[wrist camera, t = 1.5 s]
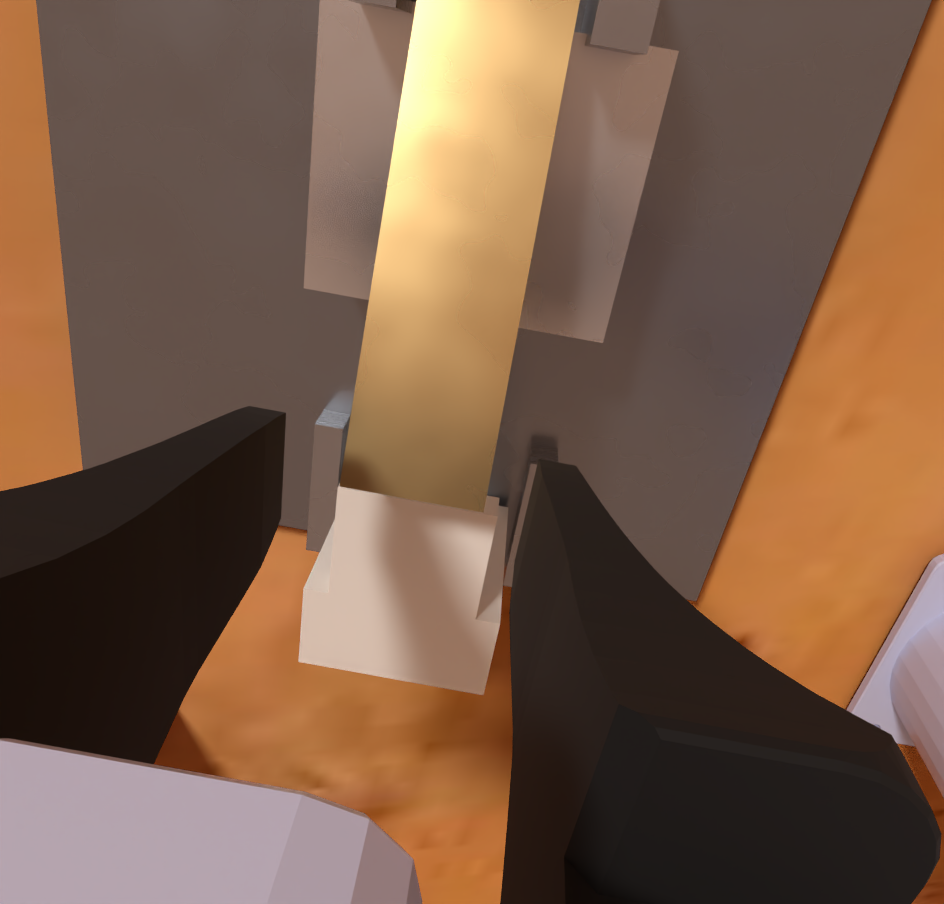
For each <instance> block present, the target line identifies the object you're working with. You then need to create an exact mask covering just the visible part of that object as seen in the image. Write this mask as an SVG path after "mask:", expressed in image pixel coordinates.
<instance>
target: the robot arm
mask: <svg viewBox="0 0 944 904" xmlns="http://www.w3.org/2000/svg"><path fill="white" fill-rule="evenodd" d="M285 427H286V413H285V412H280V411H274V410H269V409H263V408H258V407H253V406H247V407H244V408H240V409H238V410H235V411H232V412H230V413H227V414H225V415H223V416H220V417H218V418H216V419H213V420H211V421H209V422H206V423H204V424H202V425H199V426H197V427H195V428H192V429H190V430H188V431H185V432H183V433H181V434H178V435H176V436H174V437H171V438H169V439H167V440H164V441H162V442H160V443H157V444H154V445H152V446H149V447H146V448H144V449H141V450H138V451H136V452H133V453H130V454H128V455H125V456H122V457H120V458H117V459H114V460H112V461H109V462H106V463H104V464H101V465H98V466H95V467H92V468H89V469H85V470H82V471H79V472H76V473H72V474H69V475H65V476H62V477H58V478H54V479H51V480H47V481H43V482H40V483H36V484H32V485H28V486H24V487H19V488H14V489H9V490H5V491H0V904H422V898H421V893H420V889H419V884H418V879H417V875H416V870H415V865H414V860H413V859H412V857H411V856H410V855H409V854H408V853H407V852H406V851H405V850H404V849H403V848H402V847H401V846H400V845H398V844H397V843H396V842H395V841H394V840H393V839H392V838H391V837H390V836H389V835H388V834H386V833H385V832H384V831H383V830H382V829H381V828H380V827H379V826H378V825H377V824H376V823H374V822H373V821H372V820H371V819H370V818H369V817H368V816H367V815H366V814H365V813H362V812H359V811H357V810H354V809H351V808H348V807H346V806H343V805H340V804H337V803H335V802H332V801H329V800H326V799H324V798H321V797H318V796H315V795H313V794H310V793H307V792H303V791H298V790H292V789H287V788H281V787H276V786H270V785H265V784H259V783H254V782H248V781H243V780H237V779H232V778H226V777H220V776H215V775H209V774H204V773H198V772H193V771H187V770H182V769H176V768H171V767H165V766H160V765H154V762H155V760H156V758H157V755H158V753H159V751H160V749H161V747H162V744H163V742H164V740H165V738H166V736H167V734H168V731H169V729H170V727H171V725H172V723H173V721H174V718H175V716H176V714H177V712H178V710H179V708H180V705H181V703H182V701H183V699H184V697H185V695H186V693H187V691H188V689H189V688H190V686H191V684H192V682H193V680H194V678H195V676H196V675H197V673H198V671H199V669H200V668H201V666H202V664H203V663H204V661H205V659H206V658H207V656H208V654H209V653H210V651H211V650H212V648H213V646H214V645H215V643H216V641H217V640H218V638H219V636H220V635H221V633H222V631H223V630H224V628H225V626H226V625H227V623H228V621H229V620H230V618H231V616H232V615H233V613H234V612H235V610H236V608H237V607H238V605H239V603H240V602H241V600H242V598H243V597H244V595H245V593H246V591H247V590H248V588H249V586H250V585H251V583H252V581H253V580H254V578H255V576H256V574H257V573H258V571H259V569H260V568H261V566H262V563H263V561H264V559H265V556H266V554H267V552H268V549H269V547H270V545H271V542H272V540H273V537H274V535H275V532H276V530H277V527H278V525H279V522H280V520H281V509H282V489H283V468H284V448H285ZM509 614H510V654H511V686H512V718H513V750H512V768H511V782H510V795H509V808H508V821H507V833H506V845H505V857H504V869H503V881H502V892H501V902H500V904H911V903H912V902H913V901H914V899H915V898H916V897H917V895H918V894H919V893H920V891H921V890H922V889H923V887H924V886H925V884H926V883H927V881H928V879H929V878H930V876H931V874H932V872H933V870H934V868H935V866H936V864H937V862H938V860H939V858H940V844H941V832H940V829H939V827H938V824H937V822H936V819H935V816H934V814H933V811H932V809H931V807H930V805H929V803H928V801H927V799H926V797H925V796H924V794H923V792H922V790H921V788H920V786H919V784H918V782H917V780H916V778H915V776H914V774H913V772H912V771H911V769H910V767H909V765H908V763H907V761H906V759H905V758H904V756H903V754H902V752H901V750H900V748H899V747H898V745H897V743H898V744H904V745H909V746H915V747H916V749H917V750H918V752H919V754H920V756H921V758H922V760H923V761H924V763H925V765H926V767H927V769H928V770H929V772H930V774H931V776H932V778H933V780H934V781H935V783H936V785H937V787H938V789H939V791H940V792H941V794H942V796H943V798H944V554H941V555H938V556H937V557H935V558H933V559H932V560H931V562H930V563H929V564H928V566H927V568H926V570H925V571H924V573H923V575H922V577H921V579H920V580H919V582H918V584H917V586H916V587H915V589H914V591H913V593H912V595H911V596H910V598H909V600H908V602H907V603H906V605H905V607H904V609H903V610H902V612H901V614H900V616H899V618H898V619H897V621H896V623H895V625H894V626H893V628H892V630H891V632H890V633H889V635H888V637H887V639H886V641H885V642H884V644H883V646H882V648H881V649H880V651H879V653H878V655H877V657H876V658H875V660H874V662H873V664H872V665H871V667H870V669H869V671H868V672H867V674H866V676H865V678H864V680H863V681H862V683H861V685H860V687H859V688H858V690H857V692H856V694H855V695H854V697H853V699H852V701H851V703H850V704H849V706H848V708H847V710H845V709H843V708H841V707H839V706H837V705H836V704H834V703H832V702H830V701H828V700H826V699H825V698H823V697H821V696H819V695H817V694H816V693H814V692H812V691H810V690H809V689H807V688H806V687H804V686H802V685H801V684H799V683H798V682H796V681H795V680H793V679H791V678H790V677H788V676H787V675H785V674H784V673H782V672H780V671H779V670H777V669H776V668H774V667H772V666H771V665H769V664H768V663H767V662H765V661H764V660H762V659H761V658H759V657H758V656H756V655H755V654H754V653H752V652H751V651H749V650H748V649H746V648H745V647H744V646H742V645H741V644H740V643H738V642H737V641H736V640H735V639H733V638H732V637H731V636H729V635H728V634H727V633H725V632H724V631H723V630H722V629H720V628H719V627H718V626H716V625H715V624H714V623H712V622H711V621H710V620H709V619H708V618H706V617H705V616H704V615H703V614H702V613H700V612H699V611H698V610H697V609H696V608H695V607H694V606H692V605H691V604H690V603H689V602H688V601H687V600H686V599H685V598H684V597H683V596H682V595H681V594H680V593H679V592H677V591H676V590H675V589H674V588H673V587H672V586H671V585H670V584H669V583H668V582H667V581H666V580H665V579H664V578H663V577H662V576H661V575H660V574H659V573H658V572H657V571H656V570H655V569H654V568H653V567H652V565H651V564H650V563H649V562H648V561H647V560H646V559H645V557H644V556H643V555H642V554H641V553H640V552H639V551H638V550H637V548H636V547H635V546H634V545H633V544H632V542H631V541H630V540H629V539H628V538H627V536H626V535H625V534H624V533H623V531H622V530H621V529H620V527H619V526H618V525H617V524H616V522H615V521H614V520H613V518H612V517H611V516H610V514H609V513H608V511H607V510H606V509H605V507H604V506H603V505H602V503H601V502H600V500H599V499H598V497H597V496H596V494H595V493H594V491H593V490H592V488H591V487H590V485H589V484H588V483H587V481H586V480H585V478H584V477H583V475H582V474H581V472H580V471H579V469H578V468H577V466H575V465H570V464H564V463H559V462H553V461H548V460H542V459H538V463H537V468H536V472H535V476H534V480H533V485H532V489H531V493H530V497H529V502H528V506H527V510H526V514H525V519H524V523H523V527H522V532H521V536H520V540H519V544H518V549H517V553H516V557H515V562H514V571H513V581H512V590H511V601H510V612H509Z"/></svg>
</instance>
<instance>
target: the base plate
mask: <svg viewBox="0 0 944 904" xmlns="http://www.w3.org/2000/svg"><path fill="white" fill-rule="evenodd" d="M416 1H417V0H36V4H37V14H38V24H39V34H40V44H41V54H42V64H43V74H44V84H45V94H46V104H47V114H48V124H49V134H50V144H51V154H52V164H53V174H54V184H55V194H56V204H57V214H58V224H59V234H60V244H61V254H62V264H63V274H64V285H65V295H66V305H67V315H68V325H69V335H70V345H71V355H72V365H73V375H74V385H75V395H76V405H77V415H78V425H79V435H80V445H81V455H82V465H83V470H85V469H89V468H92V467H95V466H98V465H101V464H104V463H106V462H109V461H112V460H114V459H117V458H120V457H122V456H125V455H128V454H130V453H133V452H136V451H138V450H141V449H144V448H146V447H149V446H152V445H154V444H157V443H160V442H162V441H164V440H167V439H169V438H171V437H174V436H176V435H178V434H181V433H183V432H185V431H188V430H190V429H192V428H195V427H197V426H199V425H202V424H204V423H206V422H209V421H211V420H213V419H216V418H218V417H220V416H223V415H225V414H227V413H230V412H232V411H235V410H238V409H240V408H244V407H247V406H253V407H258V408H263V409H269V410H274V411H280V412H285V413H286V427H285V448H284V468H283V489H282V509H281V520H280V522H279V525H281V526H286V527H292V528H297V529H303V530H307V544H306V550H311V551H316V552H320V551H321V549H322V546H323V544H324V542H325V540H326V537H327V535H328V533H329V531H330V528H331V526H332V524H333V522H334V520H335V512H336V501H337V489H338V486H339V483H340V479H341V473H342V467H343V460H344V454H345V448H346V442H347V435H348V429H349V423H350V416H351V410H352V404H353V398H354V391H355V385H356V379H357V372H358V366H359V360H360V354H361V347H362V341H363V335H364V328H365V322H366V316H367V309H368V303H369V297H370V291H371V284H372V278H373V272H374V265H375V259H376V253H377V247H378V240H379V234H380V228H381V221H382V215H383V209H384V202H385V196H386V190H387V184H388V177H389V171H390V165H391V158H392V152H393V146H394V140H395V133H396V127H397V121H398V114H399V108H400V102H401V95H402V89H403V83H404V77H405V70H406V64H407V58H408V51H409V45H410V39H411V33H412V26H413V20H414V14H415V7H416ZM931 1H932V0H580V3H579V8H578V13H577V19H576V24H575V29H574V35H573V40H572V45H571V50H570V56H569V61H568V66H567V72H566V77H565V82H564V88H563V93H562V98H561V104H560V109H559V114H558V120H557V125H556V130H555V136H554V141H553V146H552V152H551V157H550V162H549V167H548V173H547V178H546V183H545V189H544V194H543V199H542V205H541V210H540V215H539V221H538V226H537V231H536V237H535V242H534V247H533V253H532V258H531V263H530V269H529V274H528V279H527V284H526V290H525V295H524V300H523V306H522V311H521V316H520V322H519V327H518V332H517V338H516V343H515V348H514V354H513V359H512V364H511V370H510V375H509V380H508V386H507V391H506V396H505V402H504V407H503V412H502V417H501V423H500V428H499V433H498V439H497V444H496V449H495V455H494V460H493V465H492V471H491V476H490V481H489V487H488V492H487V496H492V497H498V498H499V506H503V507H508V521H507V535H506V549H505V563H504V577H503V586H508V587H512V581H513V571H514V562H515V557H516V553H517V549H518V544H519V540H520V536H521V532H522V527H523V523H524V519H525V514H526V510H527V506H528V502H529V497H530V493H531V489H532V485H533V480H534V476H535V472H536V468H537V463H538V459H542V460H548V461H553V462H559V463H564V464H570V465H575V466H577V468H578V469H579V471H580V472H581V474H582V475H583V477H584V478H585V480H586V481H587V483H588V484H589V485H590V487H591V488H592V490H593V491H594V493H595V494H596V496H597V497H598V499H599V500H600V502H601V503H602V505H603V506H604V507H605V509H606V510H607V511H608V513H609V514H610V516H611V517H612V518H613V520H614V521H615V522H616V524H617V525H618V526H619V527H620V529H621V530H622V531H623V533H624V534H625V535H626V536H627V538H628V539H629V540H630V541H631V542H632V544H633V545H634V546H635V547H636V548H637V550H638V551H639V552H640V553H641V554H642V555H643V556H644V557H645V559H646V560H647V561H648V562H649V563H650V564H651V565H652V567H653V568H654V569H655V570H656V571H657V572H658V573H659V574H660V575H661V576H662V577H663V578H664V579H665V580H666V581H667V582H668V583H669V584H670V585H671V586H672V587H673V588H674V589H675V590H676V591H677V592H679V593H680V594H681V595H682V596H683V597H684V598H685V599H687V600H692V601H697V598H698V596H699V593H700V591H701V588H702V585H703V583H704V580H705V578H706V575H707V573H708V570H709V568H710V565H711V563H712V560H713V557H714V555H715V552H716V550H717V547H718V545H719V542H720V540H721V537H722V534H723V532H724V529H725V527H726V524H727V522H728V519H729V517H730V514H731V511H732V509H733V506H734V504H735V501H736V499H737V496H738V494H739V491H740V488H741V486H742V483H743V481H744V478H745V476H746V473H747V471H748V468H749V465H750V463H751V460H752V458H753V455H754V453H755V450H756V448H757V445H758V442H759V440H760V437H761V435H762V432H763V430H764V427H765V425H766V422H767V419H768V417H769V414H770V412H771V409H772V407H773V404H774V402H775V399H776V397H777V394H778V391H779V389H780V386H781V384H782V381H783V379H784V376H785V374H786V371H787V368H788V366H789V363H790V361H791V358H792V356H793V353H794V351H795V348H796V345H797V343H798V340H799V338H800V335H801V333H802V330H803V328H804V325H805V322H806V320H807V317H808V315H809V312H810V310H811V307H812V305H813V302H814V299H815V297H816V294H817V292H818V289H819V287H820V284H821V282H822V279H823V276H824V274H825V271H826V269H827V266H828V264H829V261H830V259H831V256H832V253H833V251H834V248H835V246H836V243H837V241H838V238H839V236H840V233H841V231H842V228H843V225H844V223H845V220H846V218H847V215H848V213H849V210H850V208H851V205H852V202H853V200H854V197H855V195H856V192H857V190H858V187H859V185H860V182H861V179H862V177H863V174H864V172H865V169H866V167H867V164H868V162H869V159H870V156H871V154H872V151H873V149H874V146H875V144H876V141H877V139H878V136H879V133H880V131H881V128H882V126H883V123H884V121H885V118H886V116H887V113H888V110H889V108H890V105H891V103H892V100H893V98H894V95H895V93H896V90H897V87H898V85H899V82H900V80H901V77H902V75H903V72H904V70H905V67H906V65H907V62H908V59H909V57H910V54H911V52H912V49H913V47H914V44H915V42H916V39H917V36H918V34H919V31H920V29H921V26H922V24H923V21H924V19H925V16H926V13H927V11H928V8H929V6H930V3H931Z"/></svg>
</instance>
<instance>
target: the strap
mask: <svg viewBox="0 0 944 904" xmlns="http://www.w3.org/2000/svg"><path fill="white" fill-rule="evenodd" d="M579 3H580V0H417V1H416V7H415V14H414V20H413V26H412V33H411V39H410V45H409V51H408V58H407V64H406V70H405V77H404V83H403V89H402V95H401V102H400V108H399V114H398V121H397V127H396V133H395V140H394V146H393V152H392V158H391V165H390V171H389V177H388V184H387V190H386V196H385V202H384V209H383V215H382V221H381V228H380V234H379V240H378V247H377V253H376V259H375V265H374V272H373V278H372V284H371V291H370V297H369V303H368V309H367V316H366V322H365V328H364V335H363V341H362V347H361V354H360V360H359V366H358V372H357V379H356V385H355V391H354V398H353V404H352V410H351V416H350V423H349V429H348V435H347V442H346V448H345V454H344V460H343V467H342V473H341V479H340V487H346V488H351V489H356V490H362V491H367V492H373V493H378V494H384V495H389V496H395V497H400V498H406V499H411V500H417V501H422V502H428V503H433V504H439V505H444V506H450V507H455V508H461V509H466V510H472V511H477V512H482V513H484V508H485V503H486V497H487V492H488V487H489V481H490V476H491V471H492V465H493V460H494V455H495V449H496V444H497V439H498V433H499V428H500V423H501V417H502V412H503V407H504V402H505V396H506V391H507V386H508V380H509V375H510V370H511V364H512V359H513V354H514V348H515V343H516V338H517V332H518V327H519V322H520V316H521V311H522V306H523V300H524V295H525V290H526V284H527V279H528V274H529V269H530V263H531V258H532V253H533V247H534V242H535V237H536V231H537V226H538V221H539V215H540V210H541V205H542V199H543V194H544V189H545V183H546V178H547V173H548V167H549V162H550V157H551V152H552V146H553V141H554V136H555V130H556V125H557V120H558V114H559V109H560V104H561V98H562V93H563V88H564V82H565V77H566V72H567V66H568V61H569V56H570V50H571V45H572V40H573V35H574V29H575V24H576V19H577V13H578V8H579Z"/></svg>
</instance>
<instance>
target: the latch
mask: <svg viewBox="0 0 944 904" xmlns="http://www.w3.org/2000/svg"><path fill="white" fill-rule="evenodd" d="M507 521H508V507H503V506H499V498H498V497H492V496H487V497H486V503H485V508H484V513H482V512H477V511H472V510H466V509H461V508H455V507H450V506H444V505H439V504H433V503H428V502H422V501H417V500H411V499H406V498H400V497H395V496H389V495H384V494H378V493H373V492H367V491H362V490H356V489H351V488H346V487H340V483H339V486H338V489H337V501H336V512H335V520H334V522H333V524H332V526H331V528H330V531H329V533H328V535H327V537H326V540H325V542H324V544H323V546H322V549H321V551H320V553H319V555H318V557H317V560H316V562H315V564H314V566H313V569H312V571H311V573H310V575H309V578H308V580H307V582H306V584H305V586H304V590H303V605H302V619H301V633H300V648H299V662H303V663H308V664H314V665H319V666H325V667H330V668H336V669H341V670H347V671H352V672H358V673H363V674H369V675H374V676H380V677H385V678H391V679H396V680H402V681H407V682H413V683H418V684H424V685H429V686H435V687H440V688H446V689H451V690H457V691H462V692H468V693H473V694H479V695H484V691H485V686H486V682H487V678H488V674H489V669H490V665H491V661H492V657H493V652H494V648H495V644H496V640H497V635H498V631H499V627H500V619H501V605H502V591H503V577H504V563H505V549H506V535H507Z"/></svg>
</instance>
